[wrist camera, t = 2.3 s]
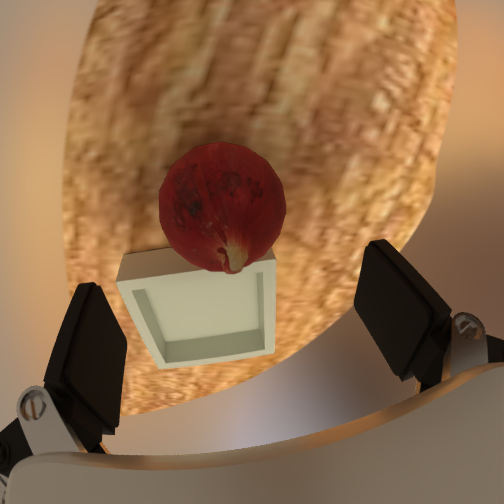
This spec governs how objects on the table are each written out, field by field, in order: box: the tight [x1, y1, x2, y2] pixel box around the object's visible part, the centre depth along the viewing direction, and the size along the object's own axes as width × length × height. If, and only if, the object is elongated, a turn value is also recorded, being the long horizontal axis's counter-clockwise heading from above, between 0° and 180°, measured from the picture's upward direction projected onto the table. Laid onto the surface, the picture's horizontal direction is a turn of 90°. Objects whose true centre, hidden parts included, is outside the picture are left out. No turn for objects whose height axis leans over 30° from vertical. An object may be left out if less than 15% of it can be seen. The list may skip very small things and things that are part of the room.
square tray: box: [116, 247, 276, 369], centre depth 20 cm, size 10×10×3 cm
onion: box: [159, 142, 286, 274], centre depth 13 cm, size 6×6×8 cm
